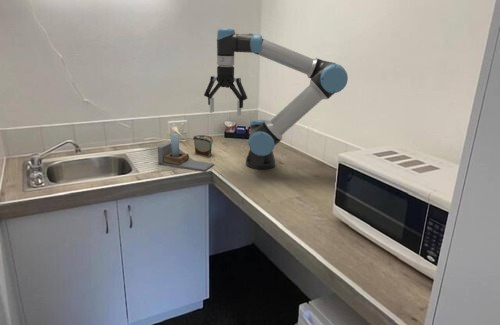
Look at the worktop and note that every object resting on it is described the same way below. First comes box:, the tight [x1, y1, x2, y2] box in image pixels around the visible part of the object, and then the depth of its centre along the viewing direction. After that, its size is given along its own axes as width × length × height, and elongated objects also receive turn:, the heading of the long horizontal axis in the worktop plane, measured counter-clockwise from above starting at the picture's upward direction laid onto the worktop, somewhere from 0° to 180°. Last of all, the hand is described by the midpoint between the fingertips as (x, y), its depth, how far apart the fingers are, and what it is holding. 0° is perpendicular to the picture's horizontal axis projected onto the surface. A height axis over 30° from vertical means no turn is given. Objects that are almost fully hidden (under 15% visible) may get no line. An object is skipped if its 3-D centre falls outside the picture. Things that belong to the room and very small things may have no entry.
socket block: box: [164, 152, 190, 165], centre depth 191 cm, size 9×9×3 cm
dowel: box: [170, 132, 181, 157], centre depth 190 cm, size 4×4×14 cm
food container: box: [192, 134, 214, 158], centre depth 206 cm, size 12×6×10 cm, turn 58°
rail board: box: [157, 141, 215, 173], centre depth 189 cm, size 10×26×9 cm, turn 70°
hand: (225, 113), depth 173 cm, fingers open, 13 cm apart
